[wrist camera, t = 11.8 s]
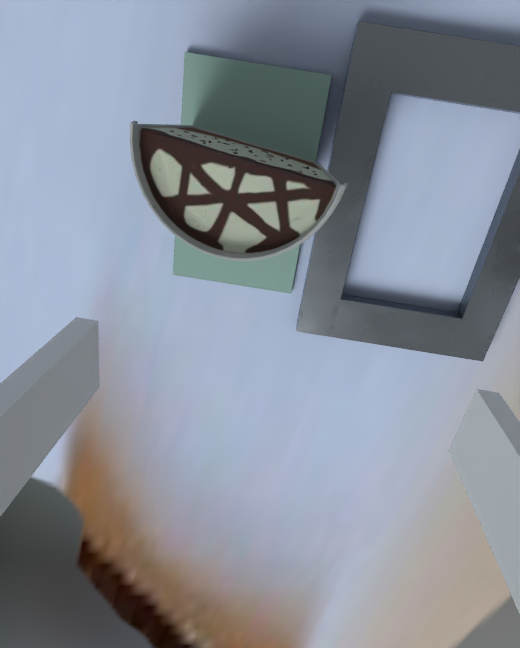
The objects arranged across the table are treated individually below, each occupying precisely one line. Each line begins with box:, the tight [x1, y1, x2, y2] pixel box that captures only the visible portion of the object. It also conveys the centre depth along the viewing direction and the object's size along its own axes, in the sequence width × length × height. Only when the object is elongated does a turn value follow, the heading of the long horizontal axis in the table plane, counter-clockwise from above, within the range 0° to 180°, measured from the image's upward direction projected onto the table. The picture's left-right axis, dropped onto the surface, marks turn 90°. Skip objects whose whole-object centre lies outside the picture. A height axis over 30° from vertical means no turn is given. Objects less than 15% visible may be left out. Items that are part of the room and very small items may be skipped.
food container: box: [130, 121, 348, 261], centre depth 28 cm, size 12×6×10 cm, turn 75°
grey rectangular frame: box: [296, 21, 520, 361], centre depth 32 cm, size 16×22×1 cm
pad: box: [173, 52, 332, 293], centre depth 33 cm, size 10×16×1 cm, turn 172°
